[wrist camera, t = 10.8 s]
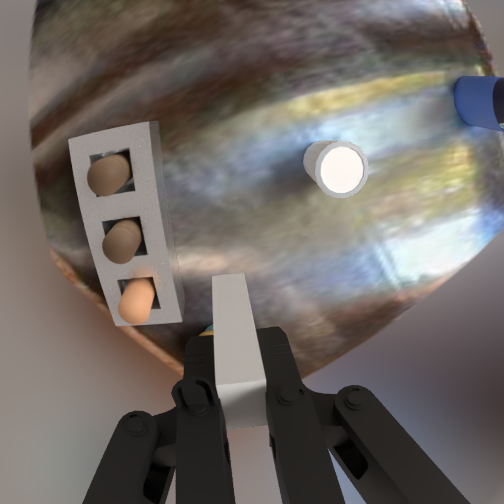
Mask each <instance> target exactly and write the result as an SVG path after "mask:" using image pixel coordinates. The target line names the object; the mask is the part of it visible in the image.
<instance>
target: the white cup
mask: <svg viewBox="0 0 504 504" xmlns="http://www.w3.org/2000/svg"><path fill="white" fill-rule="evenodd" d="M303 165H304V168H305V171H306V172H307V173H308V175H309V176H310V177H311V178H312V179H313V180H314V181H315V182H316V183H317V184H318V186H319V187H320V188H321V189H322V190H323V191H324V192H325V193H326V194H328V195H330V196H332V197H334V198H347V197H349V196H352V195H354V194H356V193H357V192H358V191H359V190H360V189H361V188H362V187H363V185H364V183H365V181H366V179H367V177H368V167H369V166H368V162H367V158H366V155H365V154H364V153H363V151H362V150H361V149H360V147H358V146H357V145H355V144H353V143H351V142H347V141H318V142H315V143H312V144H311V145H310V146H309V147H308V148H307V150H306V152H305V154H304V157H303Z"/></svg>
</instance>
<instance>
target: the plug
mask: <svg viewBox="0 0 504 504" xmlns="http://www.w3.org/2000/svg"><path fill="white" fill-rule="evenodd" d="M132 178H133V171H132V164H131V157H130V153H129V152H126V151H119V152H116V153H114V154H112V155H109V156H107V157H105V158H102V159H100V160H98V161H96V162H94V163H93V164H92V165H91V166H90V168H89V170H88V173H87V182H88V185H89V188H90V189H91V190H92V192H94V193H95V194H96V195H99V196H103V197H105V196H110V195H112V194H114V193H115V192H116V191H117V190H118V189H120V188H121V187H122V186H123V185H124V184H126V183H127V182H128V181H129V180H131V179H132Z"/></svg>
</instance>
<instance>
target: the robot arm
mask: <svg viewBox="0 0 504 504" xmlns="http://www.w3.org/2000/svg"><path fill="white" fill-rule="evenodd" d="M212 290H213V330H214V335H204V336H192V337H190V339H189V341H188V342H187V344H186V345H185V358H184V375H183V379H182V380H180V381H178V382H177V383H176V384H175V386H174V387H173V389H172V392H171V394H172V397H173V399H174V401H175V404H176V407H174V408H173V409H171V410H169V411H167V412H165V413H161V414H158V415H154V416H151V415H150V414H149V413H146V412H144V411H133V412H129V413H128V414H126V415H124V416H123V417H122V418H121V419H120V421H119V422H118V424H117V427H116V429H115V431H114V433H113V435H112V437H111V439H110V442H109V444H108V446H107V448H106V451H105V453H104V455H103V457H102V459H101V462H100V464H99V466H98V468H97V471H96V473H95V475H94V477H93V480H92V482H91V484H90V487H89V489H88V491H87V494H86V496H85V499H84V501H83V503H82V504H165V502H166V498H167V495H168V492H169V488H170V485H171V482H172V479H173V475H174V472H175V469H176V504H236V503H235V496H234V488H233V478H232V469H231V460H230V451H229V442H228V439H227V431H226V429H237V428H246V427H255V426H262V425H268V427H269V438H270V447H271V448H272V453H273V458H274V464H275V469H276V474H277V479H278V484H279V488H280V493H281V498H282V503H283V504H345V501H344V497H343V495H342V491H341V488H340V485H339V482H338V479H337V476H336V472H335V470H334V467H333V463H332V460H331V457H330V454H329V451H330V452H331V453H332V455H333V456H334V458H335V459H336V461H337V462H338V464H339V465H340V466H341V468H342V470H343V471H344V472H345V474H346V475H347V477H348V478H349V479H350V481H351V482H352V484H353V485H354V487H355V488H356V489H357V491H358V492H359V494H360V495H361V496H362V498H363V499H364V501H365V502H366V503H367V504H470V503H469V502H468V501H467V499H466V498H465V497H464V496H463V495H462V494H461V493H460V492H459V491H458V490H457V488H456V487H455V486H454V485H453V484H452V483H451V481H450V480H449V479H448V478H447V477H446V476H445V475H444V474H443V472H442V471H441V470H440V469H439V468H438V467H437V466H436V464H435V463H434V462H433V461H432V460H431V459H430V458H429V457H428V455H427V454H426V453H425V452H424V451H423V450H422V449H421V448H420V446H419V445H418V444H417V443H416V442H415V441H414V440H413V438H412V437H411V436H410V435H409V434H408V433H407V432H406V431H405V429H404V428H403V427H402V426H401V425H400V424H399V423H398V422H397V420H396V419H395V418H394V417H393V416H392V415H391V414H390V413H389V411H388V410H387V409H386V408H385V407H384V406H383V404H382V403H381V402H380V401H379V400H378V399H377V398H376V397H375V395H374V394H373V393H372V392H371V391H370V390H368V389H367V388H365V387H362V386H359V385H351V386H347V387H344V388H343V389H341V390H340V391H339V392H338V393H337V394H323V393H317V392H314V391H311V390H310V389H308V388H307V387H306V386H305V385H304V384H303V383H302V381H301V378H300V375H299V372H298V369H297V366H296V363H295V360H294V357H293V354H292V351H291V347H290V345H289V341H288V338H287V335H286V333H285V332H284V331H283V330H282V329H281V328H280V327H279V326H277V327H269V328H261V329H255V325H254V320H253V315H252V310H251V305H250V300H249V295H248V290H247V285H246V281H245V276H244V273H236V274H227V275H217V276H212ZM328 449H329V451H328Z"/></svg>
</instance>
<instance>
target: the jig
mask: <svg viewBox="0 0 504 504" xmlns="http://www.w3.org/2000/svg"><path fill="white" fill-rule="evenodd" d="M68 142H69V149H70V156H71V162H72V168H73V174H74V180H75V185H76V190H77V195H78V200H79V205H80V209H81V214H82V218H83V222H84V226H85V230H86V234H87V238H88V242H89V246H90V249H91V253H92V256H93V260H94V263H95V267H96V270H97V273H98V276H99V279H100V283H101V286H102V289H103V292H104V295H105V298H106V300H107V303H108V306H109V309H110V312H111V314H112V317H113V320H114V322H115V325H116V326H130V325H133V324H129V323H127V322H126V321H124V320H123V319H122V318H121V317H120V315H119V313H118V305H119V302H120V300H121V298H122V295H123V293H124V290H125V288H126V286H127V284H128V281H129V279H132V278H142V277H153V279H154V283H155V287H156V291H155V295H154V299H153V302H152V306H151V310H150V314H149V318H148V320H147V321H146V322H145V323H143V324H140V325H147V324H162V323H175V322H183V313H184V304H185V294H184V289H183V284H182V279H181V274H180V269H179V263H178V258H177V252H176V247H175V241H174V235H173V229H172V223H171V217H170V210H169V203H168V196H167V189H166V182H165V174H164V167H163V158H162V150H161V141H160V131H159V121H149V122H143V123H137V124H132V125H127V126H122V127H117V128H112V129H108V130H103V131H99V132H95V133H91V134H87V135H83V136H79V137H75V138H71V139H68ZM119 151H126V152H129V153H130V157H131V164H132V171H133V178H132V179H131V180H129V181H128V182H127V183H126V184H124V185H123V186H122V187H121V188H120V189H118V190H117V191H116V192H115V193H114V194H112V195H110V196H105V197H103V196H99V195H96V194H95V193H94V192H92V190H91V189H90V188H89V185H88V182H87V173H88V170H89V168H90V166H91V165H92V164H93V163H94V162H96V161H98V160H100V159H102V158H105V157H107V156H109V155H112V154H114V153H116V152H119ZM136 216H140V219H141V224H142V229H143V234H144V237H143V239H142V241H141V243H140V245H139V247H138V249H137V251H136V253H135V254H134V256H133V258H132V259H131V260H130V261H129V262H128V263H125V264H116V263H113V262H111V261H110V260H109V259H108V258H107V257H106V256H105V255H104V253H103V250H102V242H103V239H104V237H105V236H106V235H107V234H108V232H109V231H110V230H111V229H112V227H113V226H114V225H115V224H116V222H117V221H118V220H119V219H122V218H129V217H136Z"/></svg>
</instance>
